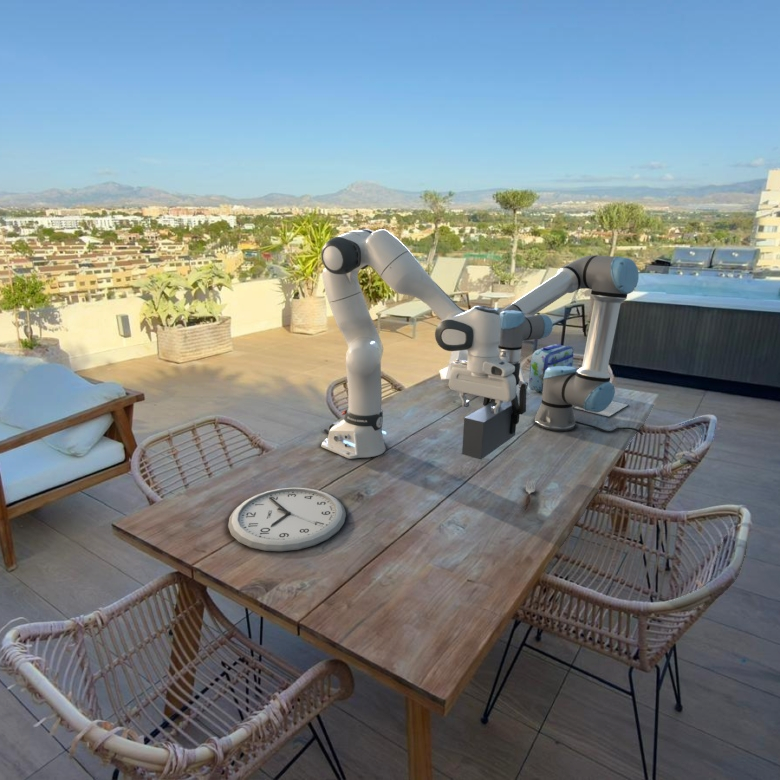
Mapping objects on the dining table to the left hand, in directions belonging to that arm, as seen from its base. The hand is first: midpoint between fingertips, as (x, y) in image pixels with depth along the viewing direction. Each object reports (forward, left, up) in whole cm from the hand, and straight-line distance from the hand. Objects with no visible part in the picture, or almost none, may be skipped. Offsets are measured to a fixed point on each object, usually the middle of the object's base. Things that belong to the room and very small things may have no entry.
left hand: (479, 409), depth 153 cm
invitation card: (+21, +93, -22) cm, 98 cm away
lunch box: (-5, +107, -22) cm, 109 cm away
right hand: (+2, +17, -12) cm, 21 cm away
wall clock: (-33, -47, -22) cm, 62 cm away
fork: (+18, -3, -22) cm, 29 cm away
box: (+1, +9, -14) cm, 16 cm away
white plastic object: (-31, +83, -22) cm, 92 cm away
